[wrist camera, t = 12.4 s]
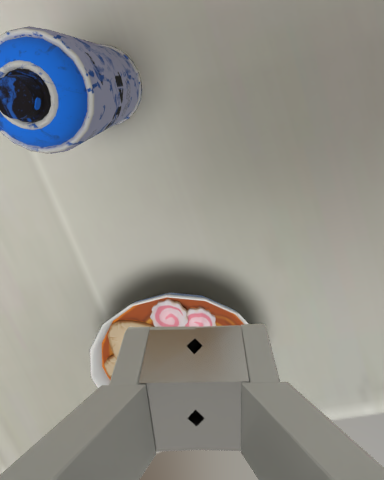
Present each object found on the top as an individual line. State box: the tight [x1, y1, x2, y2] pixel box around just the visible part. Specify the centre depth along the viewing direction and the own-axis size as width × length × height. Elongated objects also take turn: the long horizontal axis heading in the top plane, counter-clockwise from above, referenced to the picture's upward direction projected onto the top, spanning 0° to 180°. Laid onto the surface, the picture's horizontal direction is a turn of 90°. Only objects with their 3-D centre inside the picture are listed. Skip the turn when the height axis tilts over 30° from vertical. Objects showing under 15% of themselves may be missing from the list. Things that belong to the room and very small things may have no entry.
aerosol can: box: [0, 27, 142, 154], centre depth 28 cm, size 8×8×20 cm
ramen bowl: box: [90, 293, 249, 388], centre depth 47 cm, size 25×23×8 cm
